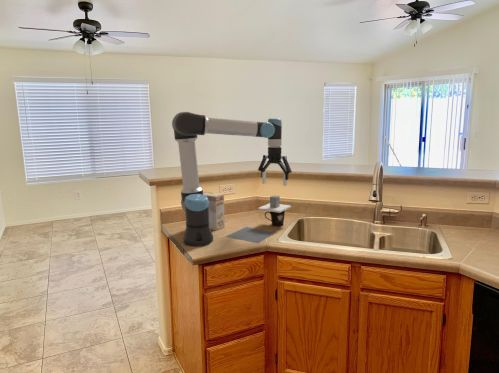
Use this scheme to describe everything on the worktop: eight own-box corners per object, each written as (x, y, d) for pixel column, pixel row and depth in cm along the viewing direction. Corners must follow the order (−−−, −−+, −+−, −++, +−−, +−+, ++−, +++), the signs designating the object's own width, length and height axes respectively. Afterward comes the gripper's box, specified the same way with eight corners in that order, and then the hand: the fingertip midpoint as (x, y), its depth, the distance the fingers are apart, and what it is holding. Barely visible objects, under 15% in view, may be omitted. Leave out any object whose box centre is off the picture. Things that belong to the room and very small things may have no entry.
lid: (258, 209, 207) (257, 197, 206) (270, 204, 219) (270, 193, 218) (279, 212, 200) (279, 200, 199) (291, 207, 212) (291, 195, 210)
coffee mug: (285, 223, 215) (285, 206, 213) (285, 227, 207) (285, 210, 205) (265, 222, 216) (265, 206, 214) (264, 227, 208) (264, 210, 206)
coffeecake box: (225, 227, 208) (224, 194, 204) (216, 230, 203) (215, 196, 199) (207, 223, 217) (205, 191, 214) (198, 226, 212) (196, 193, 208)
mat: (225, 237, 191) (225, 236, 191) (246, 227, 208) (246, 226, 208) (257, 243, 181) (257, 243, 181) (277, 232, 197) (277, 232, 197)
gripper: (298, 147, 199) (297, 185, 203) (259, 145, 213) (259, 181, 217) (291, 148, 193) (291, 187, 197) (252, 146, 206) (252, 183, 210)
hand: (274, 184), depth 207 cm, fingers open, 13 cm apart
